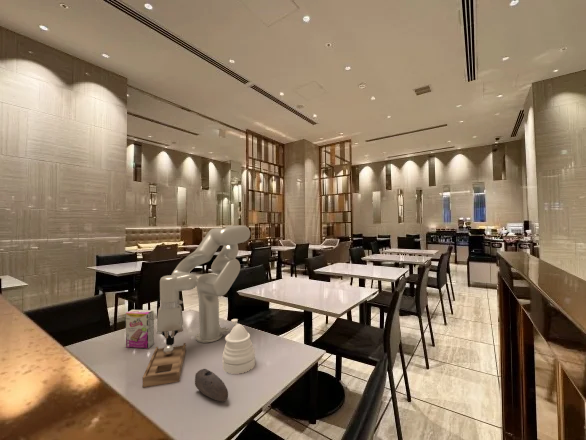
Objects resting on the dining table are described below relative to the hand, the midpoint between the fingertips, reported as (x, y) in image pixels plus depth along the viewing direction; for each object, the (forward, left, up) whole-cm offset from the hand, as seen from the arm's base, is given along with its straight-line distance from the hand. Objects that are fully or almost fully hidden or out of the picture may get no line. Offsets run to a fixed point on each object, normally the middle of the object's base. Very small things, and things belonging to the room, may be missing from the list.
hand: (170, 345), depth 121 cm
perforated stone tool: (-18, +35, -4) cm, 39 cm away
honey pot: (-28, +18, -4) cm, 33 cm away
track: (0, +11, -4) cm, 11 cm away
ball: (0, +6, +1) cm, 6 cm away
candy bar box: (+15, -12, -4) cm, 20 cm away
